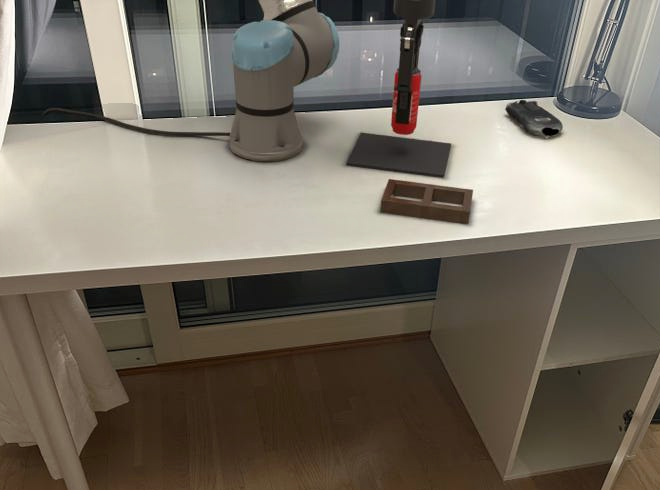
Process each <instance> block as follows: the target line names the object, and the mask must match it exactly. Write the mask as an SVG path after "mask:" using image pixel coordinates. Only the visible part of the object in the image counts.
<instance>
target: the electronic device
mask: <svg viewBox="0 0 660 490" xmlns="http://www.w3.org/2000/svg"><path fill="white" fill-rule="evenodd" d="M504 110H505V112H506V113H507V115H508V116H510V117H511V118H512V119H513V120H515V122H516V123H518V124H520V125H521V127H522V129H523V130H524V131H525V132H526V133H527V134H530V135H532V136H534V137H541V138H545V139H548V138H550V137H555V136H557V135H559V134H561V132H562V130H563V128H564V125H563V123H562V121H561V120H560V119H559V118H557V117H556V116H555V115H553V113H550V112H549V111H548V110H546V109H545V108H543V107H542V106H540V105H539V103H538V101H537V100H531V101H530V100H529V101H527V100H526V99H519V101H518V100H517V101H513V102H508V103H507V104H506V105H505V108H504Z"/></svg>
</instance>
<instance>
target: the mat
mask: <svg viewBox="0 0 660 490" xmlns="http://www.w3.org/2000/svg"><path fill="white" fill-rule="evenodd" d="M451 148H452V143H450V142H443V141H435V140H427V139H419V138H418V139H417V138H411V137H410V138H409V137H401V136H393V135H385V134H376V133H371V132H370V133H369V132H362V131H361V132H360V133H359V135H358V138H357V139H356V142H355V143H354V146H353V148H352V150H351V152H350V154H349V156H348V158H347V161H346V163H345V166H347V167H357V168H365V169H373V170H380V171H388V172H396V173H403V174H412V175H419V176H427V177H434V178H443V179H444V178H445V176H446V175H445V174H446V170H447V165H448V161H449V157H450V153H451V152H450V151H451Z"/></svg>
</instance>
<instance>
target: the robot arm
mask: <svg viewBox="0 0 660 490" xmlns="http://www.w3.org/2000/svg"><path fill="white" fill-rule="evenodd" d="M258 2H259V4H260V8H261V9H262V12H263V20H262V19H261V20H260V21H252V22H249V23H246V24H244V25H242V26H240V27H239V28H238V29H237V30H236V31H235V32H234V34H233V37H232V51H231V60H232V66H233V67H232V68H233V80H234V81H233V82H234V93H235V94H234V95H235V114H234V118H233V121H232V125H231V130H230V132H226V131H225V132H220V131H218V132H217V131H207V132H206V131H203V132H202V131H169V130H168V131H167V130H159V129H152V128H146V127H142V126H137V125H134V124H130V123H125V122H122V121H120V120H117V119H114V118H110V117H108V116H104V115H100V114H95V113H90V112H85V111H77V110H71V109H66V108H60V107H50V108H48V109H46V110H44V112H42V114H41V115H42V116H43V117H44V116H47V115H49V114H50V113H53V112H54V113H55V112H58V113H59V112H60V113H63V114H70V115H75V116H83V117H89V118H94V119H98V120H102V121H106V122H109V123H111V124H112V123H113V124H116V125H118V126H121V127H124V128H127V129H132V130H135V131H138V132H144V133H150V134H155V135H164V136H181V137H182V136H183V137H184V136H185V137H190V136H191V137H228V141H229V149H230V151H231V153H234V154H235V155H236V156H238V157H239V158H242V159H246V160H250V161H256V162H278V161H284V160H287V159H291V158H293V157H296V155H297V156H298V154H300V153H301V152H302V150H303V147H304V146H303V145H304V143H303V141H304V139H303V134H302V131H301V128H300V126H299V122H298V119H297V116H296V113H295V109H294V107H295V106H294V98H295V97H294V89H295V87H297V86H299V85H301V84H304V83H306V82H307V81H310V80H312V79H314V78H318V77H319V76H322V75H323V74H325V72H327V71H328V70H329V69H330V68H332V67H333V65H334V64H335V63H336V61H337V59H338V54H339V52H340V35H339V31H338V28H337V26H336V25H335V23H334V21H333V20H332V19H331V18H330V17H329V16H326V15H325V14H324V13H322V12H318V9H317V7H316V5H315V2H314V0H258ZM435 8H436V0H393V13H394V15H395V16H396V17H398V18H402V19H404V22H403V23H402V26H400V31H399V37H400V38H399V42H400V43H399V61H398V68H399V72H398V84H397V87H394V86H393V92H394V91H398V95H397V107H396V119H395V123H399V124H408V125H409V118H410V108H411V97H412V87H411V86H412V78H413V69H414V68H417V69H419V60H420V59H419V58H420V49H421V45H422V36H423V34H424V29H425V27H424V26H425V25H424V21H423V20H427V19H428V20H429V19H431V18H432V17H433V16H434V15H435V10H436V9H435Z"/></svg>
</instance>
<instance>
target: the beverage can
mask: <svg viewBox="0 0 660 490" xmlns="http://www.w3.org/2000/svg"><path fill="white" fill-rule="evenodd" d="M398 72H399V67H398V68H397V69H396V71H395V73H394V84H393V88H394V87H397V84H398ZM421 73H422V72H421V69H419V68H418V69H417V68H414V69H413V78H412V86H411V87H412V97H411V108H410V118H409V125H408V124H399V123H395V119H396V107H397V95H398V91H394V90H393V95H392V107H391V120H390V122H391V123H390V126H391V129H392V132H393V133H394V134H397V135H400V136H409V135H412V134H414V133H415V130H416V128H417V126H418V125H417V124H418V115H419V105H420V94H421V86H422V74H421Z"/></svg>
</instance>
